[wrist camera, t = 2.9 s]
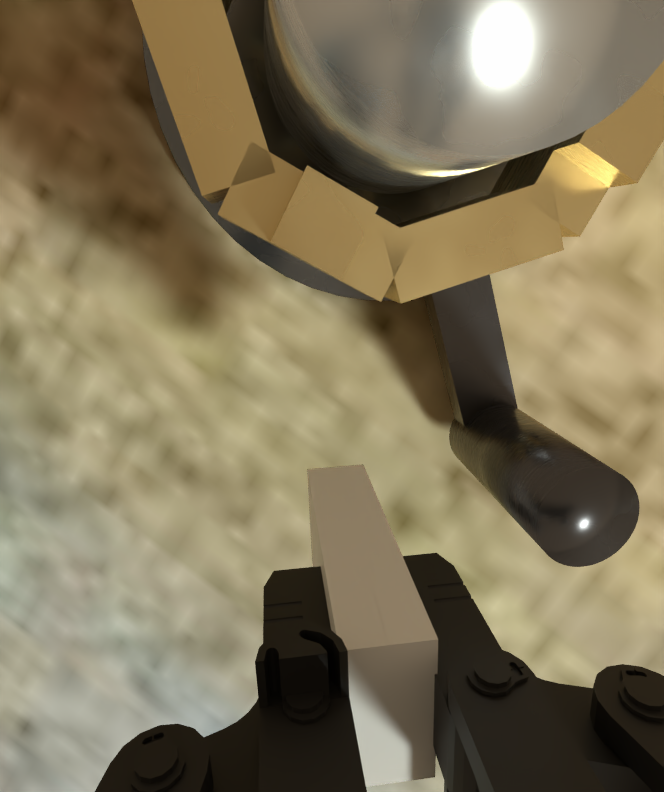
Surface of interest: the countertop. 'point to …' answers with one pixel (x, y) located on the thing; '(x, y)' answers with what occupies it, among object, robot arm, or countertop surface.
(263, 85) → the housing
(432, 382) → the countertop surface
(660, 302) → the countertop surface
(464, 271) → the tan handled ring
